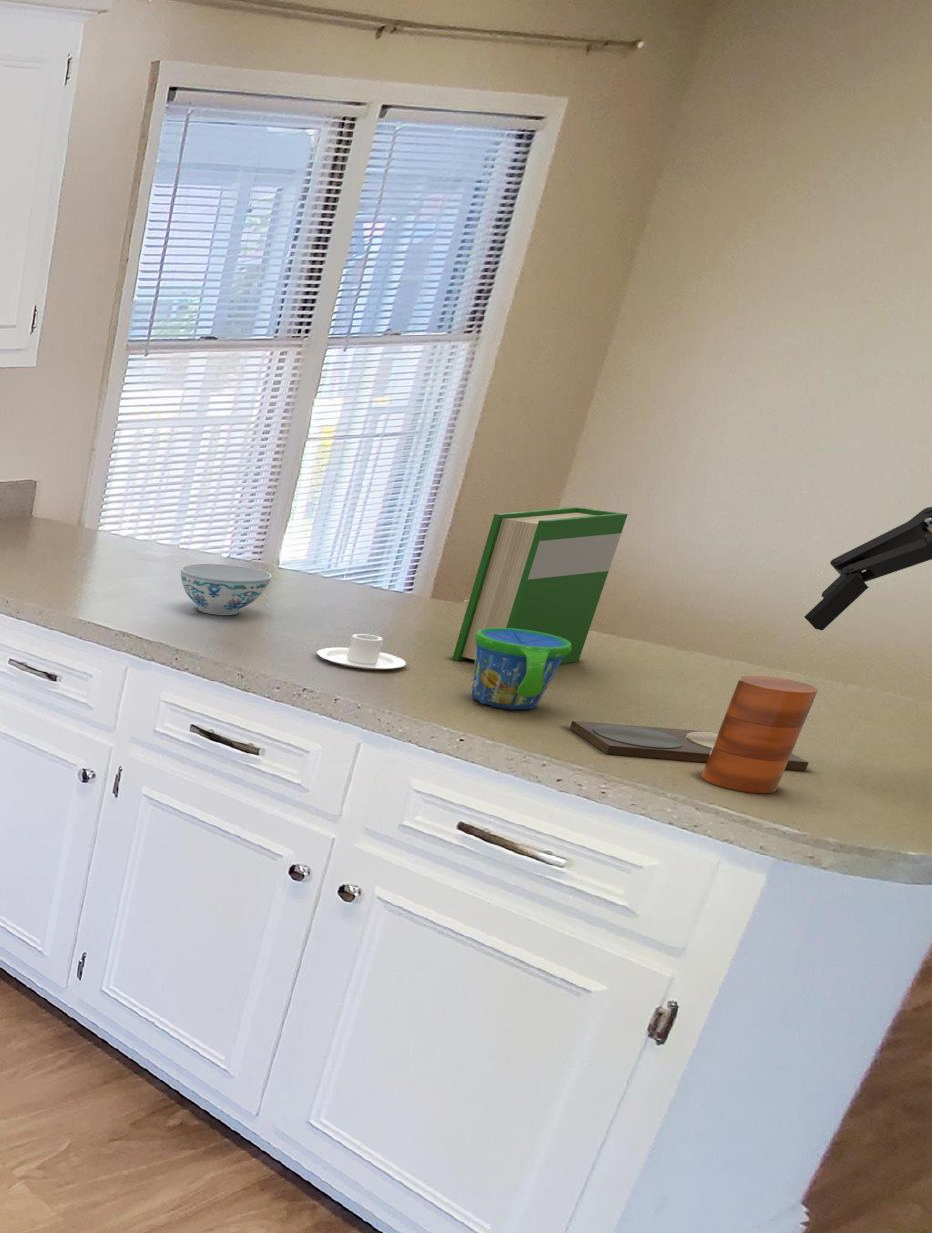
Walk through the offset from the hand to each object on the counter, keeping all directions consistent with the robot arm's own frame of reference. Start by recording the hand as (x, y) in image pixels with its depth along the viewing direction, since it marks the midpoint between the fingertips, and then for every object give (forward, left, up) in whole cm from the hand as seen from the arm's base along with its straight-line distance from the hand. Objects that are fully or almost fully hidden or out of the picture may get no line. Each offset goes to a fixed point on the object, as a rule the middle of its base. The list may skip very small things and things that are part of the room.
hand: (880, 638), depth 129 cm
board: (+9, +9, -18) cm, 22 cm away
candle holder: (+42, +36, -18) cm, 58 cm away
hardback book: (+50, +12, -18) cm, 55 cm away
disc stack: (-3, +9, -18) cm, 21 cm away
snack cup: (+24, +23, -19) cm, 38 cm away
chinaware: (+73, +51, -18) cm, 91 cm away
